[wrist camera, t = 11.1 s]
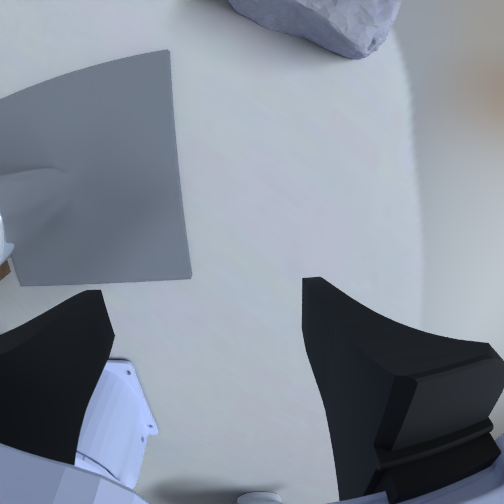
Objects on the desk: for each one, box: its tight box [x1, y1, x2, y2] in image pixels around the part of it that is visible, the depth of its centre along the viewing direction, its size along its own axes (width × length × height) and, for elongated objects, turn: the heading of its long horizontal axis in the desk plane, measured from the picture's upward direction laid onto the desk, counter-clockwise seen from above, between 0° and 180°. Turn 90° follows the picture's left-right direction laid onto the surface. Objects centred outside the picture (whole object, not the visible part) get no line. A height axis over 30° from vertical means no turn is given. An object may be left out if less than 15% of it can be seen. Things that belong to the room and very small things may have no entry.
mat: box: [0, 50, 192, 286], centre depth 18 cm, size 14×14×1 cm
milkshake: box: [0, 167, 71, 265], centre depth 13 cm, size 4×5×10 cm
